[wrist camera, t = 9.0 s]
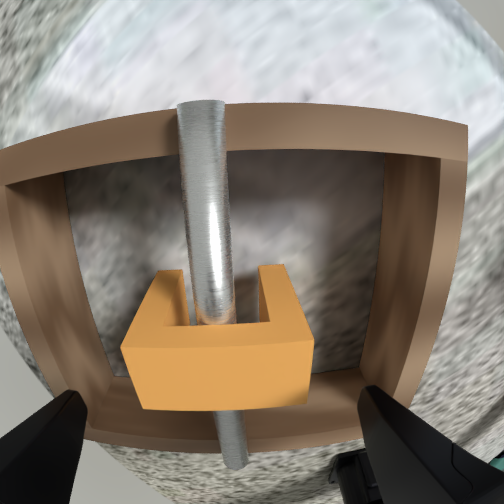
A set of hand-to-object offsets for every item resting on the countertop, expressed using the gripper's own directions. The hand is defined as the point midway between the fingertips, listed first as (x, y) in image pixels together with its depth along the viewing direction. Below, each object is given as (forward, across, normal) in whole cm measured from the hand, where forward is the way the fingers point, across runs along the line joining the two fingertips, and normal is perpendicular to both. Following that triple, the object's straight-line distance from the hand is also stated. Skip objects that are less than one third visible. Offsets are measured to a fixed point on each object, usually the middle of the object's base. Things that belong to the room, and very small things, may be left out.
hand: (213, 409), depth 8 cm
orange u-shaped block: (+7, 0, 0) cm, 7 cm away
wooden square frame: (+9, 0, 0) cm, 9 cm away
